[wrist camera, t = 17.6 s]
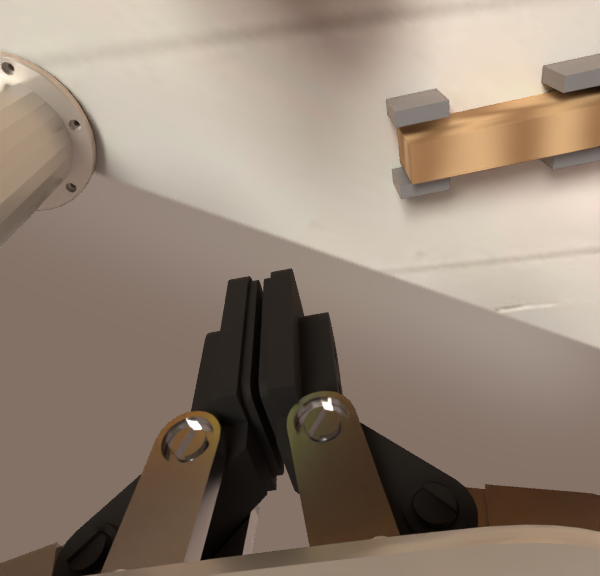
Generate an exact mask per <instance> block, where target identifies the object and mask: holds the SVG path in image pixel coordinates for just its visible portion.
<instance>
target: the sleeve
mask: <svg viewBox="0 0 600 576" xmlns="http://www.w3.org/2000/svg"><path fill="white" fill-rule="evenodd" d="M386 104H387V115H388V116H389V118H390V119H391V121H392V122H393V124H394V126H395V127H396V128H397V127H402V126H407V125H412V124H416V123H421V122H426V121H431V120H436V119H440V118H445V117H449V100H448V99H447V98H446V97H445V96H444V95H443V94H442V93H441V92H440V91H438V90H437V89H432V90H428V91H423V92H418V93H414V94H409V95H404V96H399V97H395V98H390V99H386ZM392 175H393V183H394V185H395V187H396V189H397V191H398V193H399V195H400V197H401V199H404V198H410V197H415V196H420V195H425V194H430V193H435V192H441V191H446V190H450V177H447V178H442V179H437V180H432V181H427V182H423V183H418V184H412V183H411V181H410V179H409V177H408V175H407V174H406V172H405V170H404V168H403V167H402V168H397V169H392Z"/></svg>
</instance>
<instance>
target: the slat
mask: <svg viewBox="0 0 600 576" xmlns="http://www.w3.org/2000/svg"><path fill="white" fill-rule="evenodd" d="M397 132H398V144H399V156H400V163H401V165H402V166H403V168H404V170H405V172H406V174H407V175H408V177H409V179H410V181H411V183H412V184H418V183H423V182H427V181H432V180H437V179H442V178H447V177H452V176H457V175H462V174H466V173H471V172H476V171H481V170H486V169H491V168H496V167H501V166H505V165H510V164H515V163H520V162H525V161H530V160H535V159H539V158H544V157H549V156H554V155H559V154H564V153H569V152H574V151H578V150H583V149H588V148H593V147H598V146H600V85H599V86H594V87H590V88H585V89H580V90H575V91H570V92H566V93H562V92H560V91H553V92H549V93H544V94H539V95H535V96H530V97H526V98H521V99H517V100H512V101H507V102H503V103H498V104H494V105H489V106H484V107H480V108H475V109H471V110H466V111H462V112H457V113H452V114H449V117H445V118H440V119H436V120H431V121H426V122H421V123H416V124H412V125H407V126H402V127H397Z"/></svg>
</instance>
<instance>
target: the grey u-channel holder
mask: <svg viewBox="0 0 600 576" xmlns="http://www.w3.org/2000/svg"><path fill="white" fill-rule="evenodd" d="M541 82H542V83H544V84H546V85H548V86H550V87H552V88H554V89H556V90H558V91H560V92H562V93H566V92H570V91H575V90H580V89H585V88H590V87H594V86H599V85H600V54H596V55H591V56H587V57H582V58H577V59H573V60H568V61H563V62H559V63H554V64H549V65H545V66H543V72H542V81H541ZM539 159H540V160H541V161H543V162H544V163H545V164H546V165H548V166H549V167H550V168H551V169H553V170H554V169H560V168H565V167H570V166H575V165H580V164H585V163H591V162H596V161H600V146H598V147H593V148H588V149H583V150H578V151H574V152H569V153H564V154H559V155H554V156H549V157H544V158H539Z"/></svg>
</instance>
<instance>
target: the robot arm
mask: <svg viewBox="0 0 600 576" xmlns="http://www.w3.org/2000/svg"><path fill="white" fill-rule="evenodd" d="M10 64H12V66H13V67H14V69H13V68H12V67H11V65H10ZM75 120H76V121H78V122H79V124H80V125H78V124H77V123H76V121H75ZM95 161H96V145H95V141H94V136H93V132H92V129H91V127H90V124H89V122H88V119H87V117H86V115H85V114H84V112H83V110H82V109H81V107H80V105H79V104H78V102H77V101H76V100H75V98H74V97H73V96H72V95H71V94H70V92H69V91H68V90H67V89H66V88H65V87H64V86H63V85H62V84H61V83H60V82H59V81H57V80H56V79H55V78H54V77H53V76H52V75H51V74H49V73H48V72H46V71H45V70H43V69H42V68H40V67H38V66H37V65H35V64H33V63H31V62H29V61H27V60H25V59H23V58H20V57H18V56H15V55H11V54H8V53H4V52H0V248H1V247H2V246H3V245H4V244H5V243H6V242H7V241H8V239H9V238H11V236H12V235H13V234H14V233H15V232H16V231H17V230H18V229H19V228H20V227H21V226H22V225H23V224H24V223H25V222H26V221H27V219H28V218H29V217H30V216H31V215H32V214H33V213H34V212H35V211H39V210H48V209H53V208H56V207H59V206H63V205H65V204H66V203H68V202H70V201H71V200H73V199H74V198H75V197H76V196H77V195H78V194H80V193H81V192H82V190H83V189H84V188H85V186H86V185H87V184H88V182H89V180H90V178H91V176H92V174H93V171H94V166H95ZM72 183H73V184H74V185H73V184H72ZM284 464H285V466H286V469H287V472H288V474H289V477H290V479H291V482H292V485H293V487H294V490H295V491H296V492H297V493H298V494H300V499H301V504H302V510H303V515H304V520H305V525H306V531H307V536H308V541H309V546H310V547H304V548H296V549H288V550H280V551H272V552H264V553H256V554H252V551H253V545H254V539H255V534H256V529H257V523H258V518H259V507H258V504H259V503H260V502H261V500H262V499H263V498H264V497H265V496H266V495H267V491H272V490H276V476H277V475H283V473H284ZM0 576H600V495H597V494H593V493H582V492H571V491H559V490H548V489H535V488H524V487H513V486H501V485H489V484H485V489H479V488H468V487H464V486H463V485H462V484H460V483H459V482H458V481H457V480H456V479H454V478H452V477H451V476H449V475H447V474H446V473H444V472H442V471H440V470H439V469H437V468H435V467H434V466H432V465H430V464H429V463H427V462H425V461H424V460H422V459H420V458H419V457H417V456H415V455H414V454H412V453H410V452H409V451H407V450H405V449H404V448H402V447H400V446H399V445H397V444H395V443H394V442H392V441H390V440H389V439H387V438H385V437H383V436H382V435H380V434H379V433H377V432H375V431H374V430H372V429H370V428H369V427H367V426H365V425H364V424H362V423H360V421H359V418H358V415H357V412H356V410H355V408H354V406H353V404H352V403H351V401H350V400H349V399H347V398H346V397H345V396H344V395H343V394H342V387H341V380H340V372H339V366H338V358H337V353H336V347H335V341H334V336H333V331H332V327H331V321H330V317H329V313H328V312H327V313H321V314H315V315H310V316H304V313H303V309H302V305H301V301H300V297H299V293H298V289H297V285H296V281H295V277H294V274H293V270H292V269H286V270H281V271H275V272H271V278H267V279H264V287H263V291H262V288H261V284H260V282H259V280H256V281H252V279H251V277H250V276H248V277H243V278H237V279H232V280H229V281H228V286H227V292H226V299H225V305H224V311H223V317H222V324H221V330H220V331H217V332H212V333H208V334H207V336H206V339H205V343H204V348H203V353H202V359H201V363H200V369H199V374H198V379H197V384H196V389H195V394H194V399H193V404H192V409H191V412H187V413H185V414H182V415H180V416H178V417H176V418H175V419H173V420H172V421H171V422H169V423H168V424H167V425H166V426H165V427H164V428H163V429H162V430H161V432H160V433H159V435H158V437H157V439H156V440H155V443H154V445H153V448H152V450H151V452H150V455H149V457H148V460H147V462H146V465H145V467H144V469H143V472H142V474H141V475H140V476H139V477H137V478H136V479H135V480H134V481H133V482H132V483H131V484H129V485H128V486H127V487H126V488H125V489H124V490H123V491H122V492H120V493H119V494H118V495H117V496H116V497H115V498H114V499H112V500H111V501H110V502H109V503H108V504H107V505H106V506H105V507H103V508H102V509H101V510H100V511H99V512H98V513H97V514H96V515H94V516H93V517H92V518H91V519H90V520H89V521H88V522H86V523H85V524H84V525H83V526H82V527H81V528H80V529H78V530H77V531H76V532H75V533H74V534H73V536H72V537H71V538H70V539H69V540H68V541H67V542H66V544H65V545H62V546H61V545H59V544H58V543H57V542H56V543H53V544H51V545H48V546H45V547H43V548H40V549H37V550H34V551H32V552H29V553H26V554H24V555H21V556H18V557H16V558H13V559H10V560H8V561H5V562H2V563H0Z"/></svg>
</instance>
